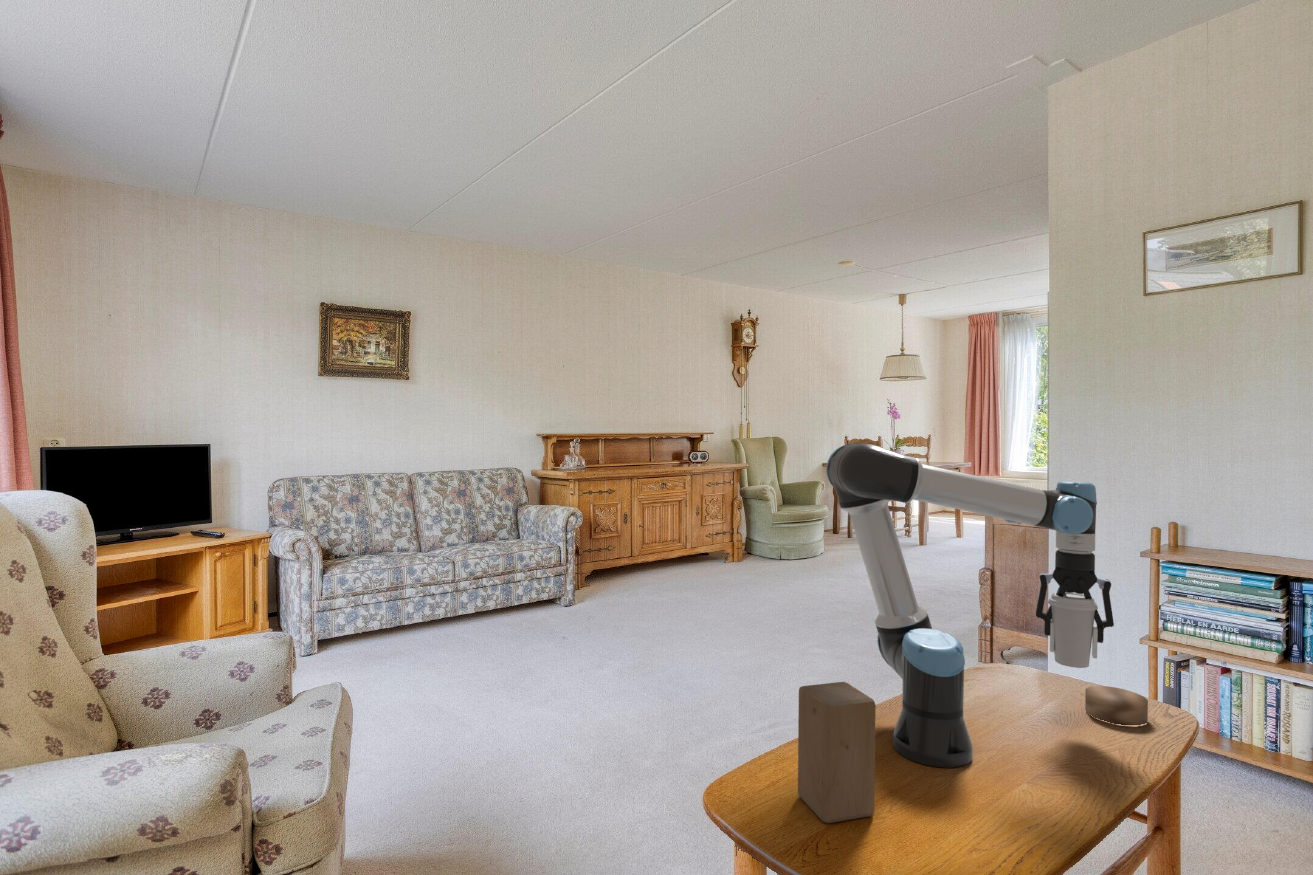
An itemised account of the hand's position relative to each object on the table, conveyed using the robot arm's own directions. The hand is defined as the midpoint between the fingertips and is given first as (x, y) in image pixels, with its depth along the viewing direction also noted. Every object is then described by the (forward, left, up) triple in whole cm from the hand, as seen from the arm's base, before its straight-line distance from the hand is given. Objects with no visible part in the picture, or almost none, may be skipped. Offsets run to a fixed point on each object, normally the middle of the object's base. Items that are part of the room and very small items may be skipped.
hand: (1072, 653), depth 151 cm
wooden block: (-38, -59, -17) cm, 72 cm away
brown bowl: (+9, +12, -17) cm, 23 cm away
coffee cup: (0, 0, -2) cm, 2 cm away
